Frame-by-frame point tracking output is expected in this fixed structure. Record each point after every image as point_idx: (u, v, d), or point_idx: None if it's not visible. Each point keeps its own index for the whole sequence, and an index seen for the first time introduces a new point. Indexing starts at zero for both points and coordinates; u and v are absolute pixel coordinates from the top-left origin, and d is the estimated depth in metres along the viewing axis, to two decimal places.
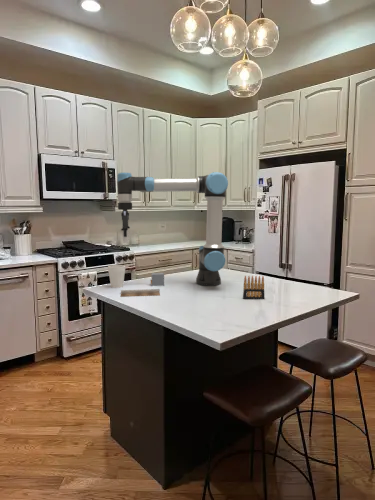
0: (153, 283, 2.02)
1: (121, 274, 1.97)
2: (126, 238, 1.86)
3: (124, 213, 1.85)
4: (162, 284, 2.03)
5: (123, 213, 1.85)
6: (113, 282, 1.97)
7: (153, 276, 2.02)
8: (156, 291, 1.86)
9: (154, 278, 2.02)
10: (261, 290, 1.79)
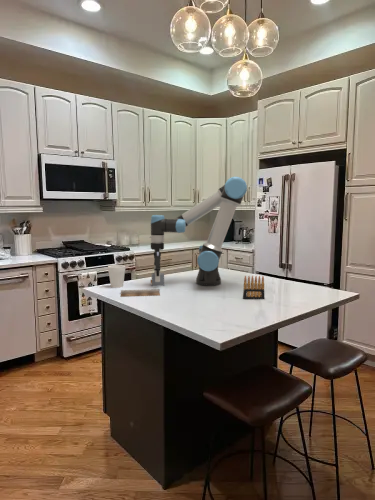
0: (153, 283, 2.02)
1: (121, 274, 1.97)
2: (158, 277, 1.97)
3: (157, 254, 1.96)
4: (162, 284, 2.03)
5: (156, 254, 1.96)
6: (113, 282, 1.97)
7: (153, 276, 2.02)
8: (156, 291, 1.86)
9: (154, 278, 2.02)
10: (261, 290, 1.79)
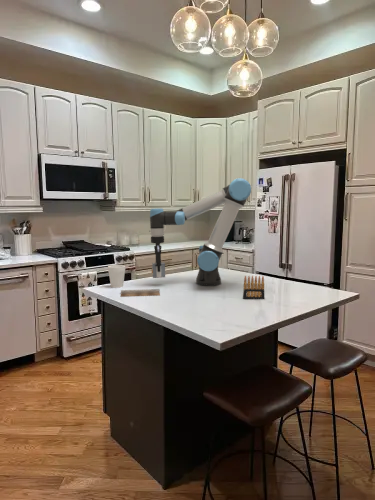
0: (154, 272, 2.01)
1: (121, 274, 1.97)
2: (160, 273, 2.01)
3: (158, 250, 1.96)
4: (163, 273, 2.02)
5: (157, 250, 1.96)
6: (113, 282, 1.97)
7: (154, 265, 2.01)
8: (156, 291, 1.86)
9: (155, 267, 2.01)
10: (261, 290, 1.79)
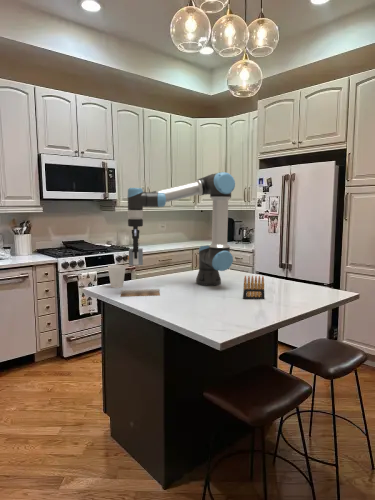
0: (130, 259, 1.81)
1: (121, 274, 1.97)
2: (137, 260, 1.81)
3: (135, 234, 1.76)
4: (140, 260, 1.82)
5: (134, 234, 1.76)
6: (113, 282, 1.97)
7: (130, 251, 1.81)
8: (156, 291, 1.86)
9: (131, 253, 1.81)
10: (261, 290, 1.79)
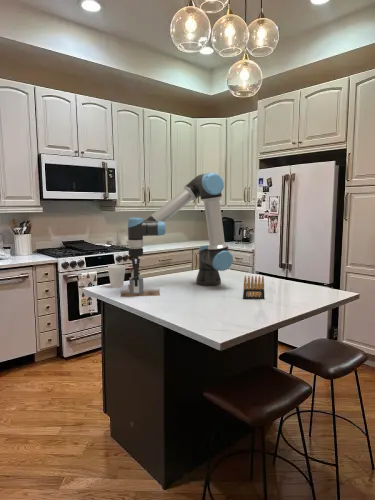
0: (131, 288, 1.83)
1: (121, 274, 1.97)
2: (137, 287, 1.79)
3: (135, 262, 1.77)
4: (141, 289, 1.84)
5: (134, 262, 1.77)
6: (113, 282, 1.97)
7: (131, 281, 1.82)
8: (156, 291, 1.86)
9: (132, 283, 1.83)
10: (261, 290, 1.79)
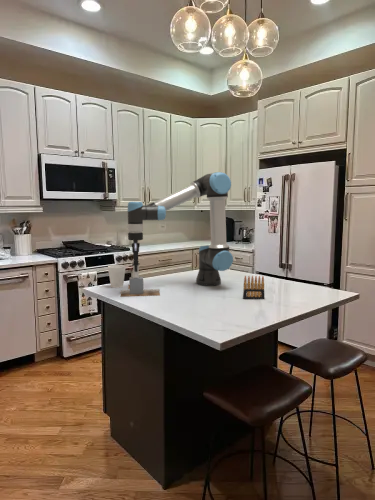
0: (131, 288, 1.83)
1: (121, 274, 1.97)
2: (137, 273, 1.84)
3: (135, 249, 1.77)
4: (141, 289, 1.84)
5: (134, 249, 1.77)
6: (113, 282, 1.97)
7: (131, 281, 1.82)
8: (156, 291, 1.86)
9: (132, 283, 1.83)
10: (261, 290, 1.79)
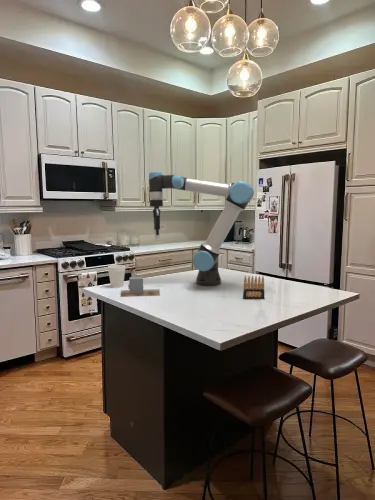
0: (131, 288, 1.83)
1: (121, 274, 1.97)
2: (158, 236, 2.05)
3: (157, 214, 1.99)
4: (141, 289, 1.84)
5: (156, 214, 1.98)
6: (113, 282, 1.97)
7: (131, 281, 1.82)
8: (156, 291, 1.86)
9: (132, 283, 1.83)
10: (261, 290, 1.79)
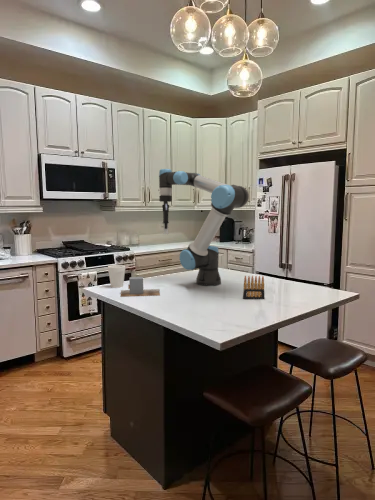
0: (131, 288, 1.83)
1: (121, 274, 1.97)
2: (166, 230, 2.18)
3: (166, 209, 2.11)
4: (141, 289, 1.84)
5: (165, 209, 2.11)
6: (113, 282, 1.97)
7: (131, 281, 1.82)
8: (156, 291, 1.86)
9: (132, 283, 1.83)
10: (261, 290, 1.79)
